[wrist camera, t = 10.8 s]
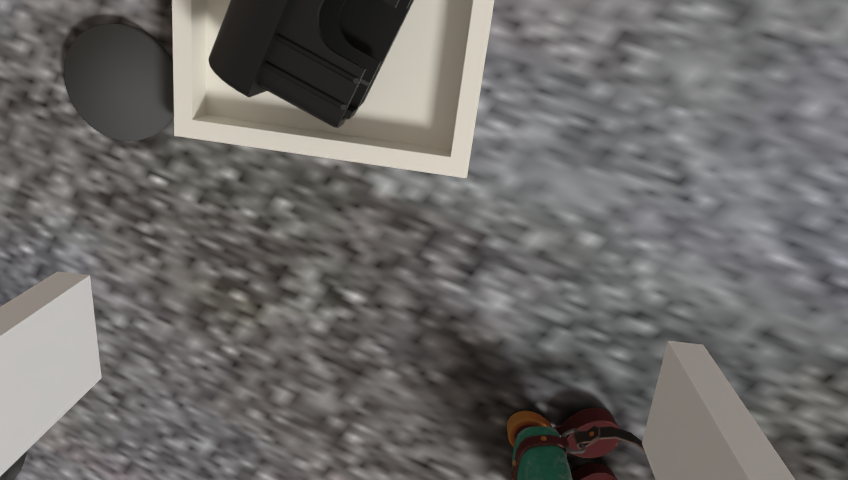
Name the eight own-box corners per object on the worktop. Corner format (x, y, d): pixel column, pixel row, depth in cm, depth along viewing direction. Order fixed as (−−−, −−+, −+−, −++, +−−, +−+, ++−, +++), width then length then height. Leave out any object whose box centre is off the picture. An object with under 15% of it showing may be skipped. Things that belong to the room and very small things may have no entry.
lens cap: (79, 129, 37) (68, 132, 36) (70, 16, 35) (59, 16, 34) (183, 144, 37) (175, 148, 36) (182, 31, 34) (173, 32, 33)
